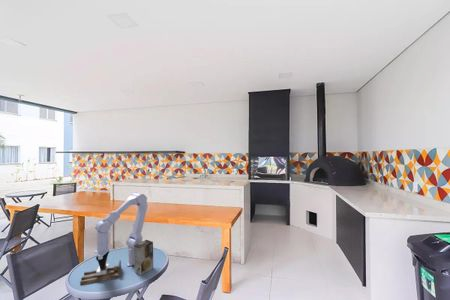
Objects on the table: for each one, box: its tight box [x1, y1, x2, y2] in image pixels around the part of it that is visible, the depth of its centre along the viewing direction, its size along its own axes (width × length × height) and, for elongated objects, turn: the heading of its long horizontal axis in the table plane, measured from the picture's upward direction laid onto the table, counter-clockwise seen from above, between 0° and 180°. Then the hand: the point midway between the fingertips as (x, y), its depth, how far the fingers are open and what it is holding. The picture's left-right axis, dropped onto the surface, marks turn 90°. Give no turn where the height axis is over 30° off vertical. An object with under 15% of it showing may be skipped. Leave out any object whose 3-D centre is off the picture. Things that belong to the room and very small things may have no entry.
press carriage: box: [96, 261, 110, 276], centre depth 122 cm, size 5×8×6 cm, turn 20°
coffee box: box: [134, 239, 154, 276], centre depth 128 cm, size 9×6×16 cm
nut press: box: [79, 259, 122, 286], centre depth 122 cm, size 19×10×6 cm, turn 110°
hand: (103, 266), depth 122 cm, fingers closed on press carriage, 3 cm apart
